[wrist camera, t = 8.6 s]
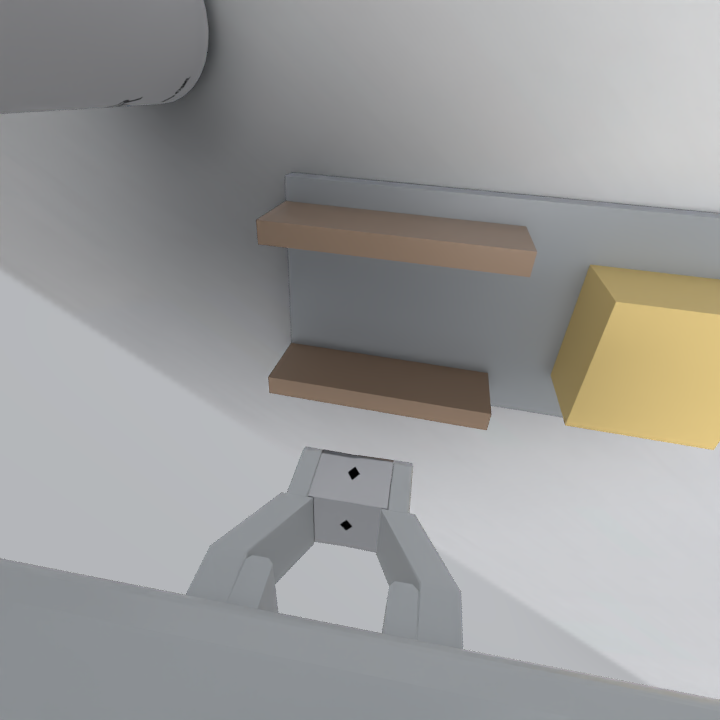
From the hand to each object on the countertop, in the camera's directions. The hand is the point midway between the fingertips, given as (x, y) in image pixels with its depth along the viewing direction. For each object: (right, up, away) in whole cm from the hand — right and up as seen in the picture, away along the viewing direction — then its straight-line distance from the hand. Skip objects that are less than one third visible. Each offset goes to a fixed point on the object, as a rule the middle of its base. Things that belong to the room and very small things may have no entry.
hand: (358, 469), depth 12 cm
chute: (+6, +6, +10) cm, 13 cm away
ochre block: (+13, +4, +8) cm, 16 cm away
